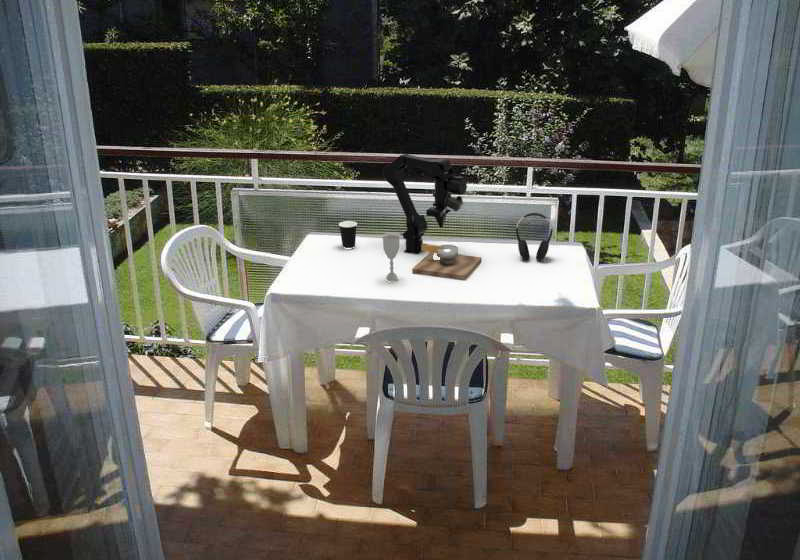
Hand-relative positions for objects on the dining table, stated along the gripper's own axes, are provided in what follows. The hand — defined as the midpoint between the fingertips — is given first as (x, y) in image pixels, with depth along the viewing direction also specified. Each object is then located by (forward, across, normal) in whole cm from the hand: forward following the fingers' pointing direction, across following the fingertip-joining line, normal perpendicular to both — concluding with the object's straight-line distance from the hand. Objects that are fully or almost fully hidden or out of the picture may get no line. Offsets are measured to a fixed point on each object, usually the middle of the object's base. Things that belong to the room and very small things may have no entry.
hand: (441, 227), depth 319 cm
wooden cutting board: (+13, -10, -7) cm, 18 cm away
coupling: (+8, -10, -4) cm, 13 cm away
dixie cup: (+13, -5, +41) cm, 44 cm away
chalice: (+13, -31, +8) cm, 35 cm away
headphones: (+13, +12, -36) cm, 40 cm away
